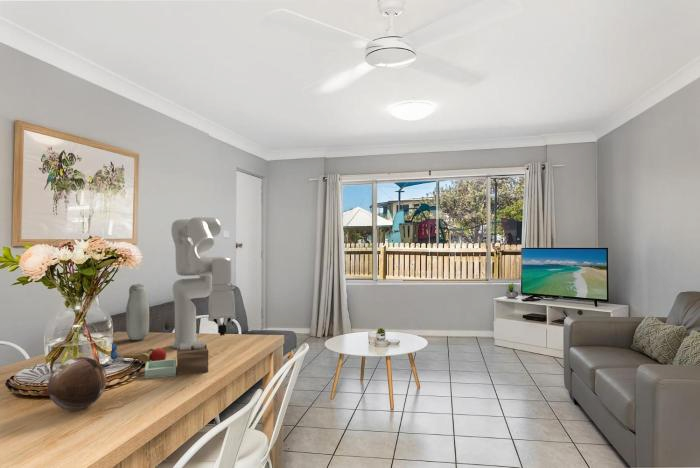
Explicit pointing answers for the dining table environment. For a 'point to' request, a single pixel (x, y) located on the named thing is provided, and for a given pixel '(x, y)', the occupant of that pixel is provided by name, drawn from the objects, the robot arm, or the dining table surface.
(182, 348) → the chip
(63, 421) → the dining table surface
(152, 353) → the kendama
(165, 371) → the tray
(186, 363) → the slot block
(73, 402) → the wooden sphere
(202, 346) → the chip
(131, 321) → the grey bottle vase
